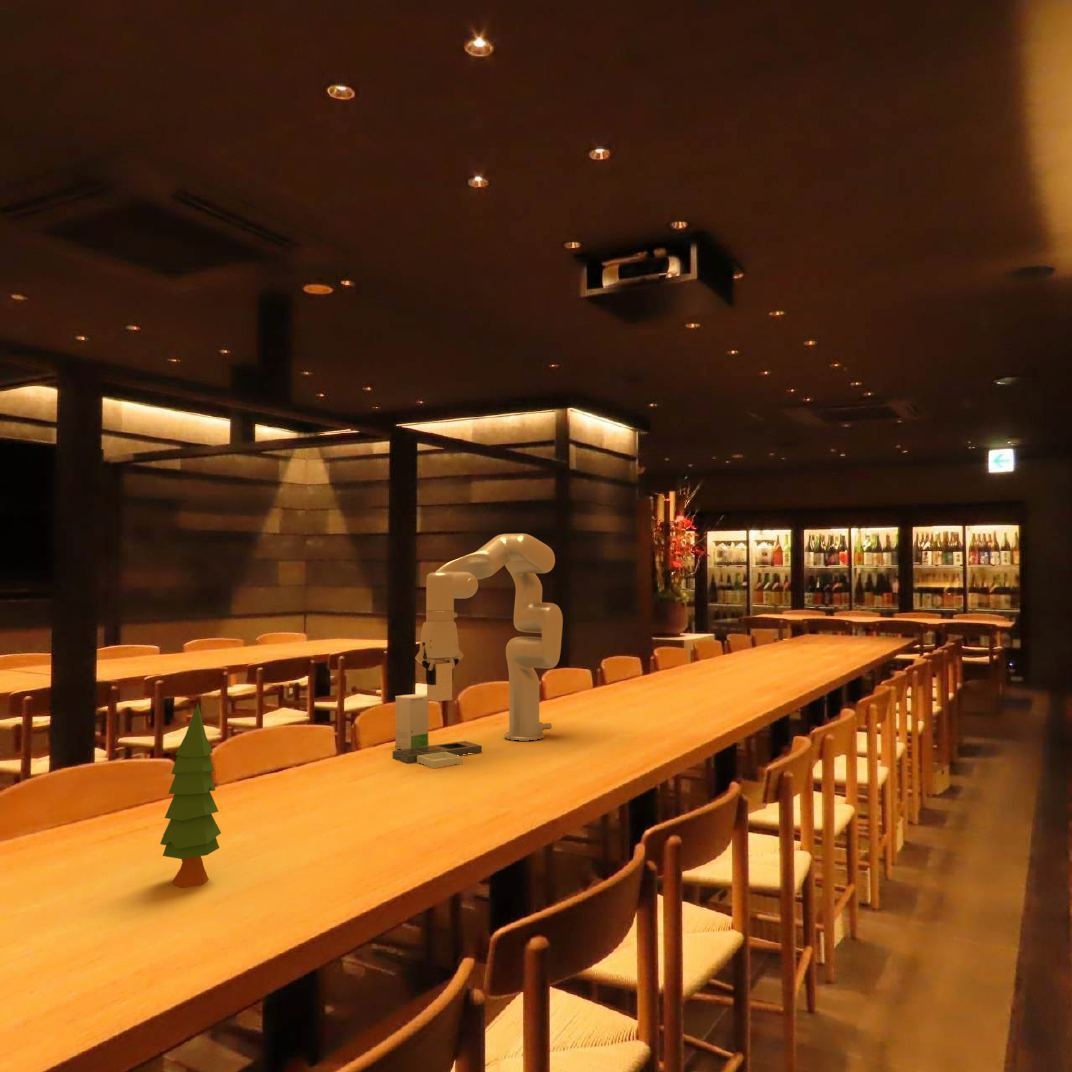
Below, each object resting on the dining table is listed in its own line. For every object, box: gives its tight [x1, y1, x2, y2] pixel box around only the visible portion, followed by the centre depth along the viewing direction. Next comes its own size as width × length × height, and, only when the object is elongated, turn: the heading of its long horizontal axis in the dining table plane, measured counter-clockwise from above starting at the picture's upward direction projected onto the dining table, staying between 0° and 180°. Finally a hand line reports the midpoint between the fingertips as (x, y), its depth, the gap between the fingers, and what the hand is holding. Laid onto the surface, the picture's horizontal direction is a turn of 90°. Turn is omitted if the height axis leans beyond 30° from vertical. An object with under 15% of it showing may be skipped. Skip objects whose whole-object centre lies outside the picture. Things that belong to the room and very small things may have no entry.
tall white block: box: [426, 661, 453, 702], centre depth 245 cm, size 5×5×10 cm
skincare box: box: [394, 693, 430, 750], centre depth 265 cm, size 8×7×16 cm
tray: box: [416, 752, 463, 769], centre depth 244 cm, size 9×9×2 cm
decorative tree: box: [159, 703, 222, 888], centre depth 152 cm, size 10×9×30 cm
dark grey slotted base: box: [392, 740, 483, 764], centre depth 255 cm, size 24×9×2 cm, turn 126°
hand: (439, 683), depth 245 cm, fingers closed on tall white block, 5 cm apart
